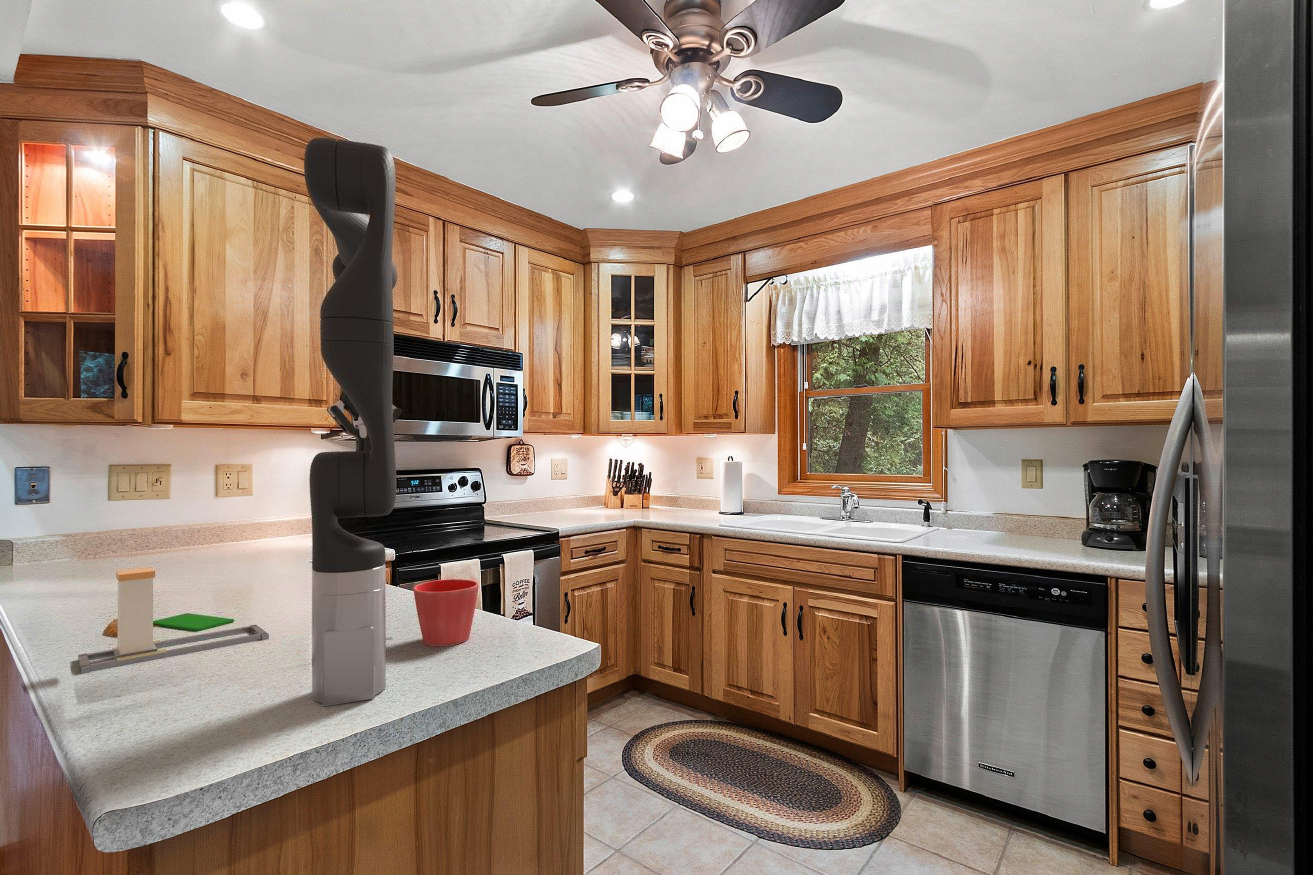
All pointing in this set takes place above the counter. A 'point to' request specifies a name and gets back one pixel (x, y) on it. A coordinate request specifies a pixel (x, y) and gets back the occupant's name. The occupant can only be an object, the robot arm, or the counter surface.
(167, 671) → the counter surface
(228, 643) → the track
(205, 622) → the dish sponge
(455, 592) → the flower pot
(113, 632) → the pastry
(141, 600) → the fader
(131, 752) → the counter surface
